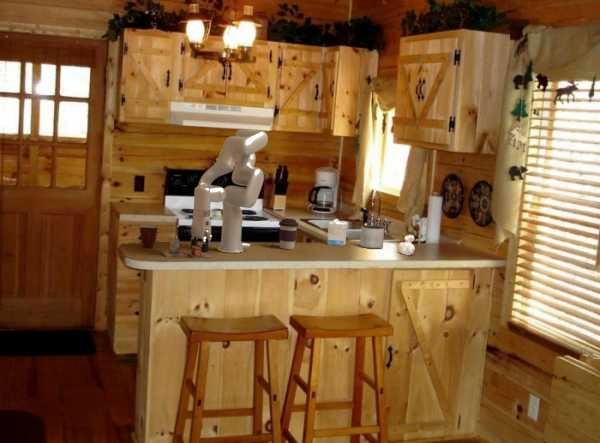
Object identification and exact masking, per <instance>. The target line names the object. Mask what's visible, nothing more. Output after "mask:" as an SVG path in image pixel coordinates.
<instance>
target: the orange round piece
mask: <svg viewBox="0 0 600 443" xmlns="http://www.w3.org/2000/svg"><path fill="white" fill-rule="evenodd" d="M190 254H191V255H193V256H207V255H208V252H207V253H202V244H197V245H192V249H191V252H190Z"/></svg>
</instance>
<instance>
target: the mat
mask: <svg viewBox="0 0 600 443" xmlns="http://www.w3.org/2000/svg"><path fill="white" fill-rule="evenodd" d="M187 254H188V256H190V257H192V259H193V258H198V259H199V258H200V259H201V257H210V258H211V256H210V255H208V254H207V256H193V255H191V253H187Z"/></svg>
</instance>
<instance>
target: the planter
mask: <svg viewBox="0 0 600 443" xmlns="http://www.w3.org/2000/svg"><path fill="white" fill-rule="evenodd" d="M360 228H361V229H360V237H359V238H360V240H359V246H360V247H361V248H365V249H369V250H370V249H371V250H381V249H382V248H383V247H384V239H385V238H384V236H385V227H384V226H380V225H370V224H368V225H367V224H365V225H363V224H362V225H361V227H360Z"/></svg>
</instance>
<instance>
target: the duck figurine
mask: <svg viewBox="0 0 600 443" xmlns="http://www.w3.org/2000/svg"><path fill="white" fill-rule="evenodd" d="M404 240H405V241H403V242H400V243H399V244H398V246H397V252H398V253H399V254H400V253H401V254H400V255H404V254H406V255H405V256H411V255H413V254H414V251H415V250H416V248H415V245H414V244H412V242H414V241H415V236H414V235H413V234H408V235H405V237H404Z"/></svg>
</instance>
